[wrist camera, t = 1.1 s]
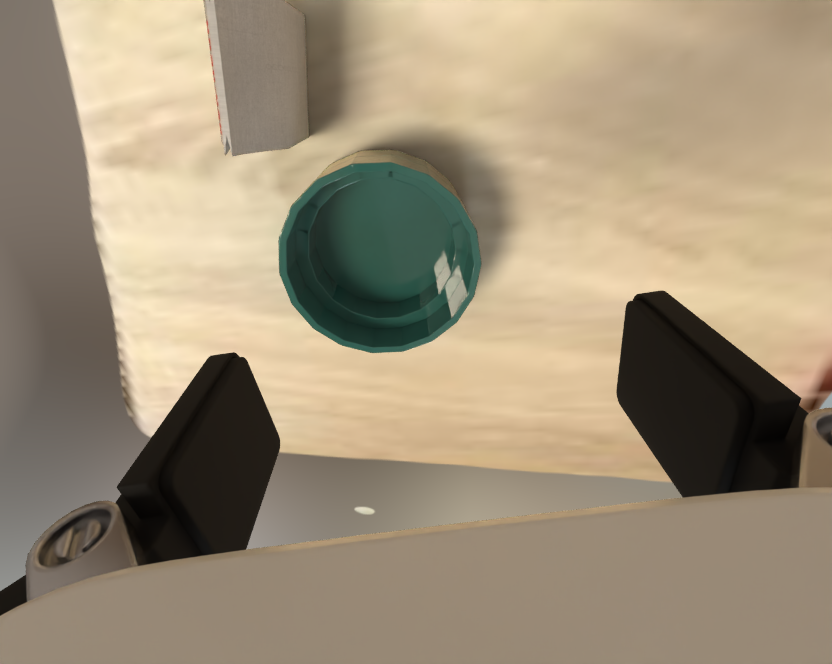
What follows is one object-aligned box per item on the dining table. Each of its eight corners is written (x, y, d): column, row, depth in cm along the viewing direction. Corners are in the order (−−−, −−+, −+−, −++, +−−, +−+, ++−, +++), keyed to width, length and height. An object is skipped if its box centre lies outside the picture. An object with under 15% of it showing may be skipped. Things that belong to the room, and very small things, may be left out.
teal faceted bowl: (264, 193, 31) (236, 215, 26) (433, 116, 29) (440, 124, 23) (345, 334, 37) (336, 375, 32) (490, 280, 35) (505, 315, 30)
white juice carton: (304, 15, 26) (255, -20, 17) (308, 136, 29) (269, 159, 20) (242, 7, 25) (160, -31, 17) (253, 131, 29) (190, 152, 20)
